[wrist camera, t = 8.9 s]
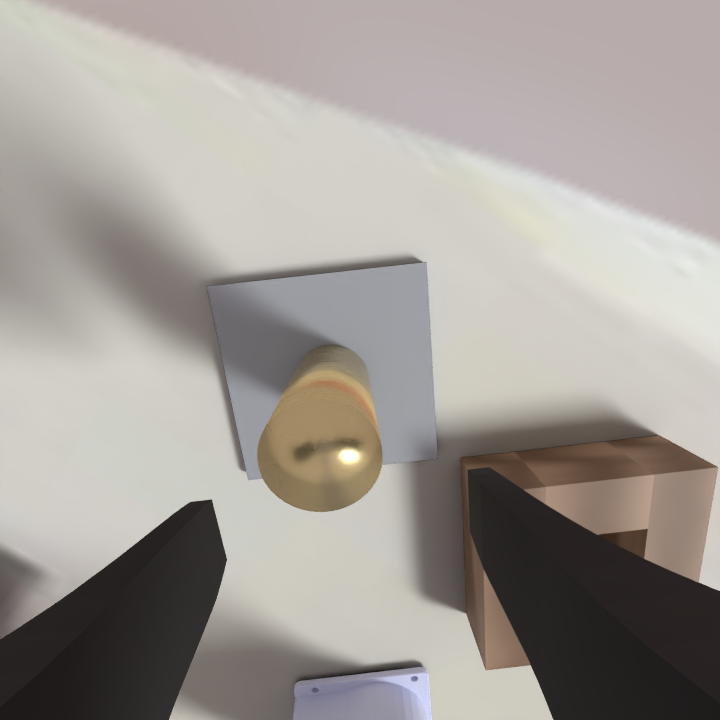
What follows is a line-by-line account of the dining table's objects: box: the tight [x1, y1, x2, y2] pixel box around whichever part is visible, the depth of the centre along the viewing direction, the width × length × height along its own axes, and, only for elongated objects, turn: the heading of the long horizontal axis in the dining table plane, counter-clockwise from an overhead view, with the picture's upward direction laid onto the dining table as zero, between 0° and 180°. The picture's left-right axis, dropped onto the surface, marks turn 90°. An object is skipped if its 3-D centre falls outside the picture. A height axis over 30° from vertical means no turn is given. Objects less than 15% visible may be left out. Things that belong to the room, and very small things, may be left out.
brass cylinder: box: [257, 345, 383, 512], centre depth 15 cm, size 4×4×8 cm
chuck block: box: [461, 435, 718, 670], centre depth 21 cm, size 12×12×4 cm
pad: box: [207, 262, 438, 480], centre depth 19 cm, size 11×11×1 cm
